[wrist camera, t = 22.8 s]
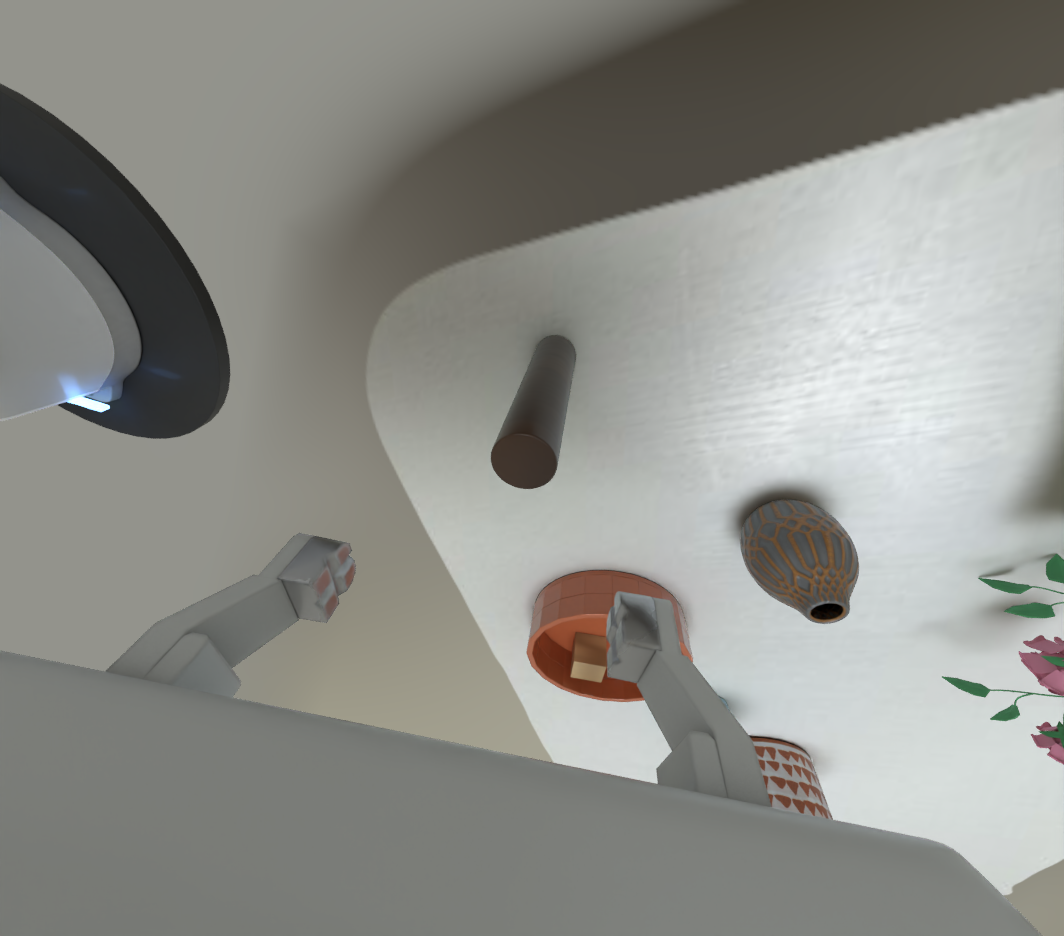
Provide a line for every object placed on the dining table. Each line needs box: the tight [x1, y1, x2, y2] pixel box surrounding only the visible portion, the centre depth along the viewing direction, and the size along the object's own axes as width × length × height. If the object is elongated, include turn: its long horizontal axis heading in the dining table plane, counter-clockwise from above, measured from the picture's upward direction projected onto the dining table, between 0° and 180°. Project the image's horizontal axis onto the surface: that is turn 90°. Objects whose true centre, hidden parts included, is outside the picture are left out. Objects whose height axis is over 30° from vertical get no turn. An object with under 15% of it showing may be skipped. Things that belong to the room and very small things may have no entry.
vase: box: [740, 500, 859, 624], centre depth 28 cm, size 7×7×9 cm
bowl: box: [527, 570, 693, 702], centre depth 41 cm, size 16×16×5 cm
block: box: [570, 632, 607, 683], centre depth 43 cm, size 4×4×4 cm
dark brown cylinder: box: [491, 335, 576, 489], centre depth 21 cm, size 3×3×13 cm
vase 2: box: [751, 738, 833, 820], centre depth 51 cm, size 14×14×13 cm
